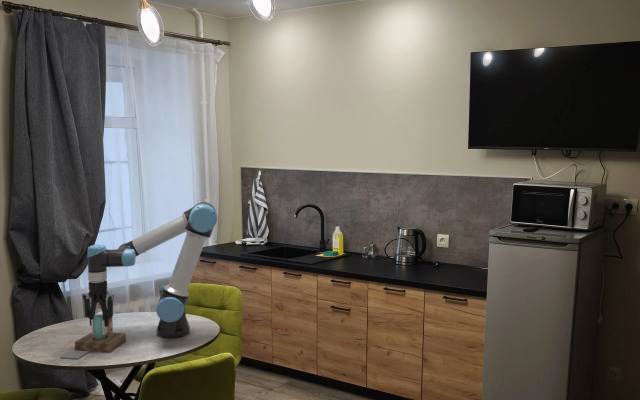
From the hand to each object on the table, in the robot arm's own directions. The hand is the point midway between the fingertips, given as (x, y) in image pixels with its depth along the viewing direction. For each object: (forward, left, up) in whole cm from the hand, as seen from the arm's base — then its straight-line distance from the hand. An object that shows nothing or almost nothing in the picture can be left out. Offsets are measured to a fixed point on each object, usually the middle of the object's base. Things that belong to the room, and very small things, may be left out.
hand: (99, 333), depth 244 cm
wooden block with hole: (0, -1, -6) cm, 6 cm away
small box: (+7, -15, -6) cm, 17 cm away
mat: (+5, +11, -6) cm, 14 cm away
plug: (0, 0, -5) cm, 5 cm away
